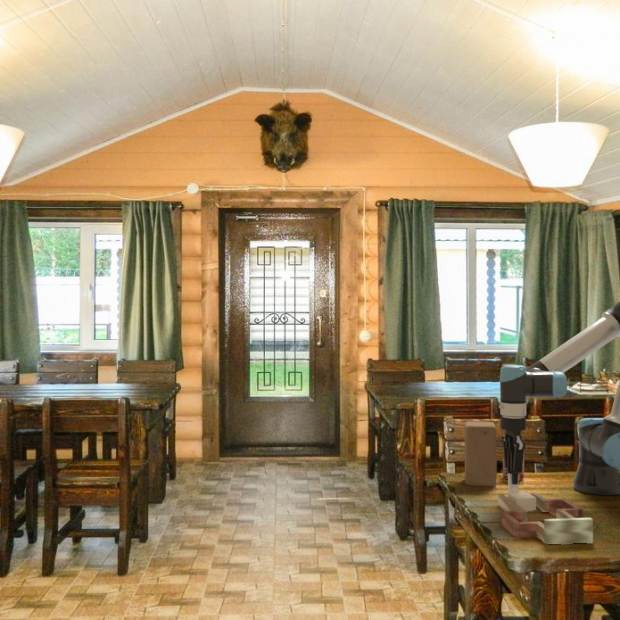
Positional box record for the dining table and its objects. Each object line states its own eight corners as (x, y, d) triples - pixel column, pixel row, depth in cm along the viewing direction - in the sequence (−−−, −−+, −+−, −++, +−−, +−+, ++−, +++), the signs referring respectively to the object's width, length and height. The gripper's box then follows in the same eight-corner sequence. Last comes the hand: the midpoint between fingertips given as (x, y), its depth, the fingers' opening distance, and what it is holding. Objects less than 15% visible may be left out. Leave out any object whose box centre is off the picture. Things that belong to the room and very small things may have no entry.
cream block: (526, 505, 206) (526, 492, 206) (536, 511, 200) (536, 497, 200) (507, 506, 205) (507, 493, 205) (517, 512, 199) (516, 498, 199)
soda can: (521, 482, 231) (520, 446, 231) (500, 479, 235) (499, 444, 235) (526, 478, 237) (526, 443, 237) (506, 475, 241) (505, 441, 241)
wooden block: (496, 487, 225) (496, 426, 225) (465, 486, 227) (465, 425, 227) (494, 480, 235) (494, 421, 235) (464, 478, 237) (464, 420, 237)
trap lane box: (554, 504, 206) (554, 484, 206) (614, 542, 173) (613, 518, 173) (480, 506, 204) (480, 486, 204) (525, 545, 171) (525, 521, 171)
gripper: (493, 413, 214) (493, 488, 215) (508, 420, 201) (509, 500, 202) (516, 412, 215) (517, 488, 215) (533, 419, 202) (534, 499, 202)
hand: (513, 494), depth 208 cm, fingers closed
